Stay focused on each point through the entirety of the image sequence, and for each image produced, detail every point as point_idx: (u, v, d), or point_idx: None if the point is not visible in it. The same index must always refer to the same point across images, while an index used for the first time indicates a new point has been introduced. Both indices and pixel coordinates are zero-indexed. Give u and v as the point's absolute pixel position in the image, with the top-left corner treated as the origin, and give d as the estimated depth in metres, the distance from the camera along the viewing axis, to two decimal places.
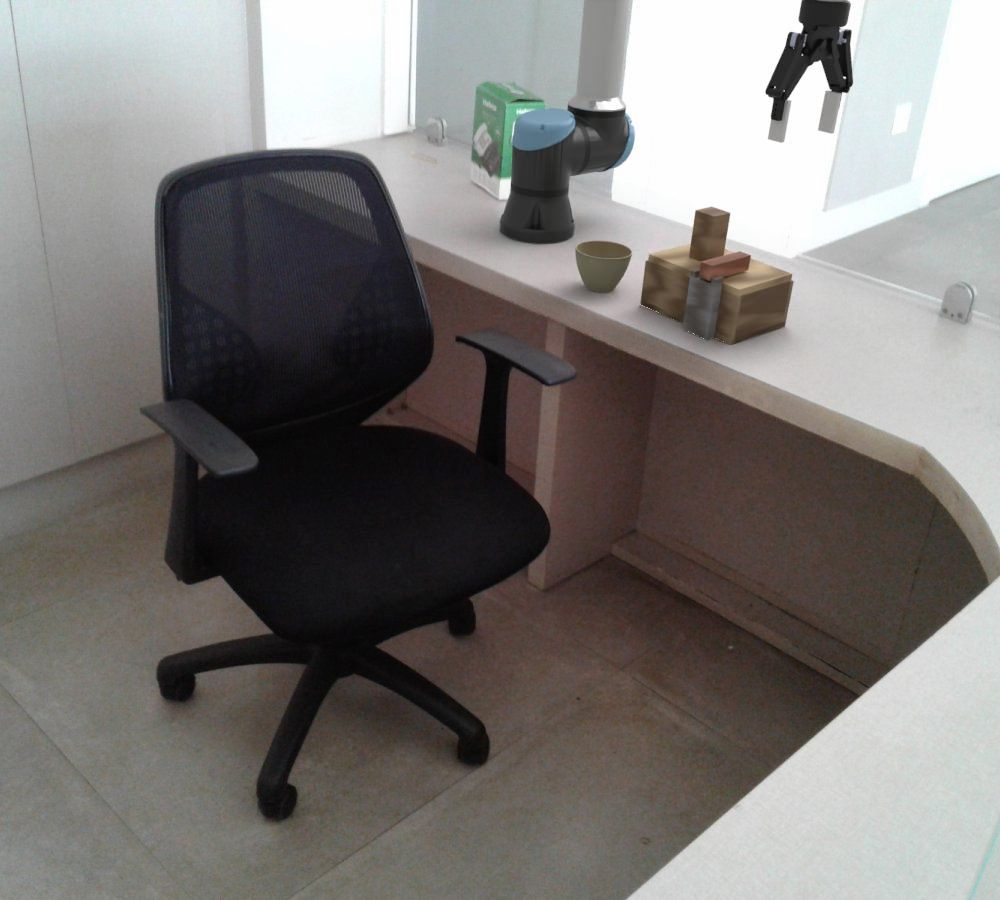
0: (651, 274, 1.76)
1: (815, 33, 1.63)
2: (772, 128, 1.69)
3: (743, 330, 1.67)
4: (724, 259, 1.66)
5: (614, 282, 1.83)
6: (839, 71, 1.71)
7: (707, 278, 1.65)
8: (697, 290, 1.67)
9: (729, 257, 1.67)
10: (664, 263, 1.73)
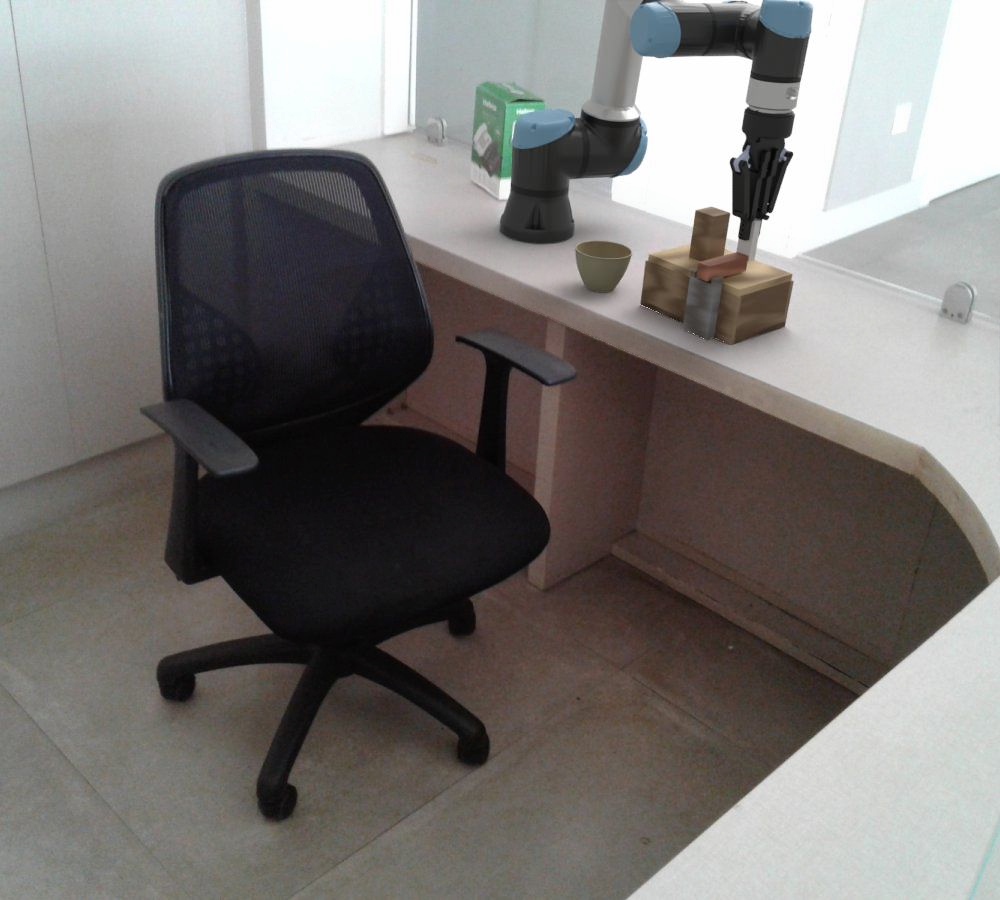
0: (651, 274, 1.76)
1: (756, 146, 1.58)
2: (740, 246, 1.69)
3: (743, 330, 1.67)
4: (721, 260, 1.66)
5: (614, 282, 1.83)
6: (768, 192, 1.65)
7: (704, 279, 1.64)
8: (697, 290, 1.67)
9: (727, 257, 1.67)
10: (664, 263, 1.73)
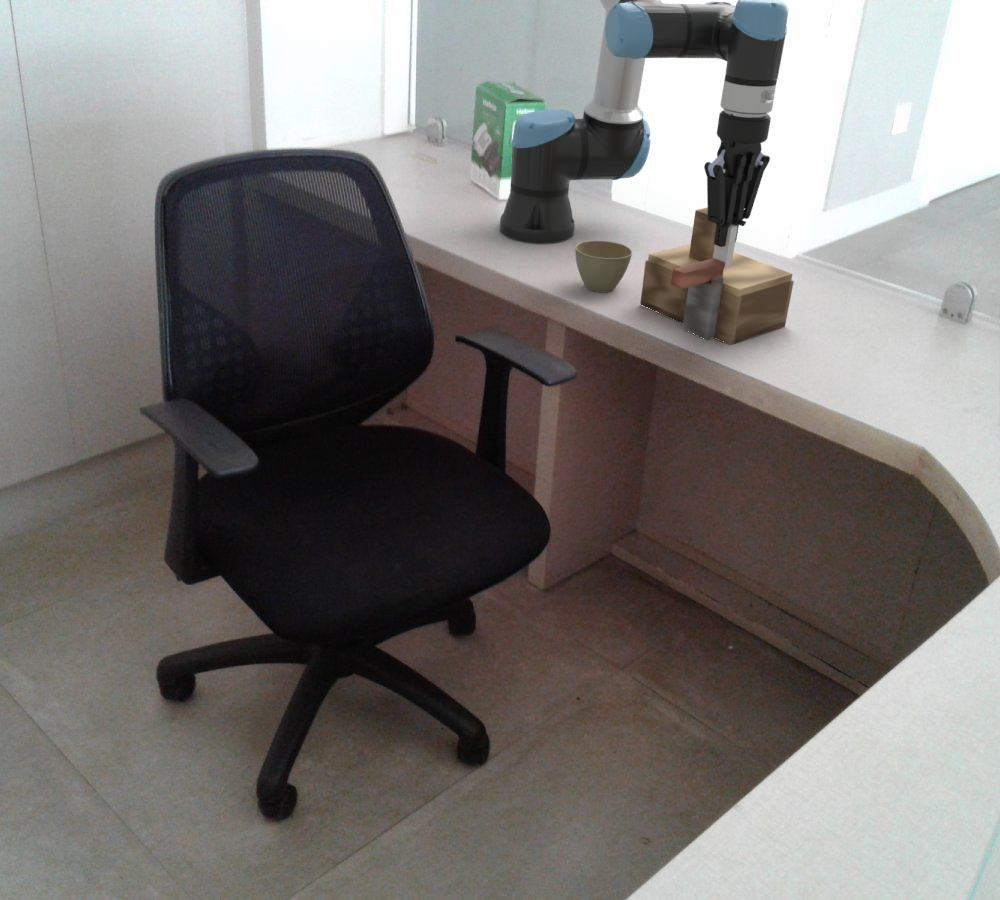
0: (651, 274, 1.76)
1: (731, 150, 1.55)
2: (716, 252, 1.66)
3: (743, 330, 1.67)
4: (697, 266, 1.63)
5: (614, 282, 1.83)
6: (744, 197, 1.61)
7: (679, 286, 1.61)
8: (697, 290, 1.67)
9: (703, 264, 1.64)
10: (664, 263, 1.73)
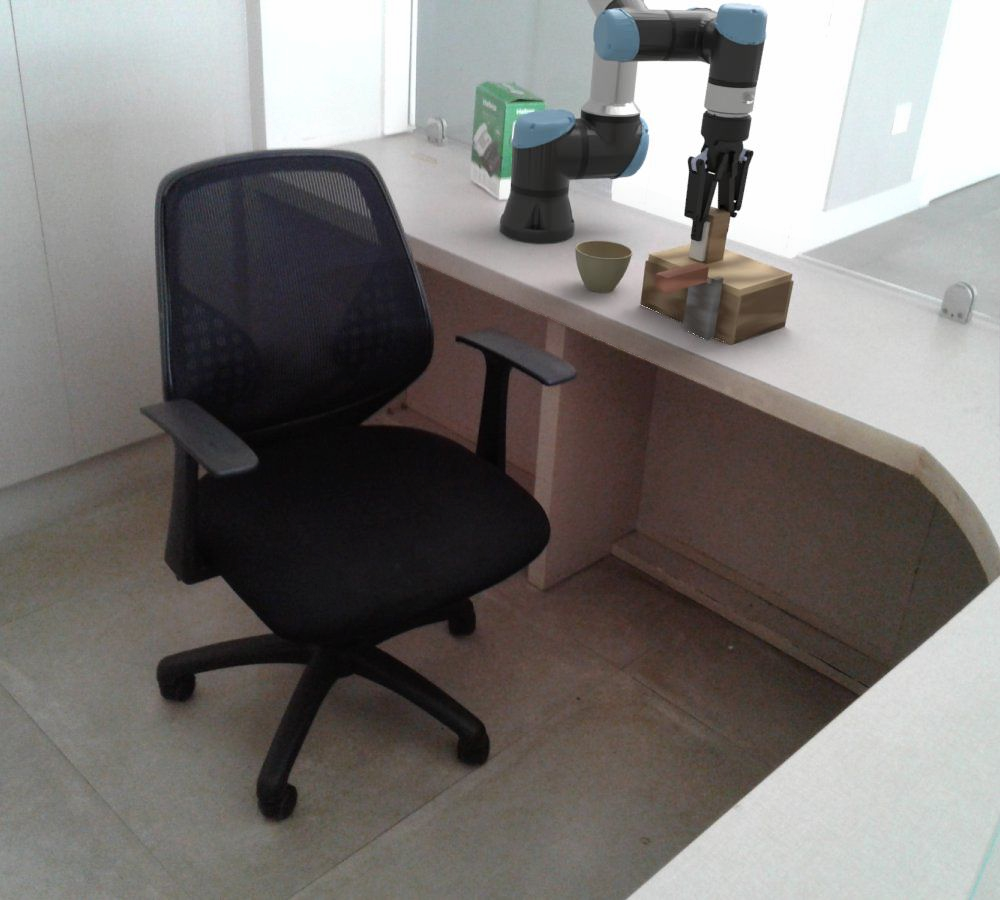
0: (651, 274, 1.76)
1: (714, 148, 1.63)
2: (693, 246, 1.73)
3: (743, 330, 1.67)
4: (681, 271, 1.60)
5: (614, 282, 1.83)
6: (732, 191, 1.70)
7: (663, 290, 1.59)
8: (697, 290, 1.67)
9: (687, 268, 1.62)
10: (664, 263, 1.73)
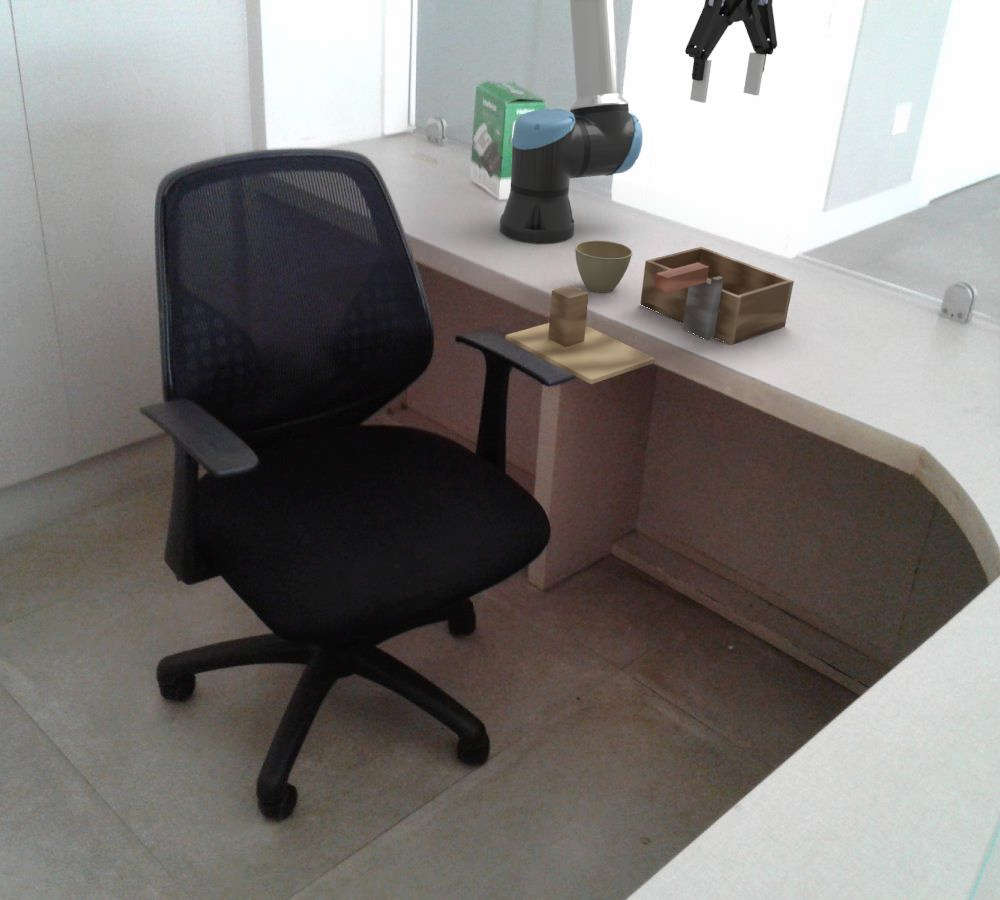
0: (651, 274, 1.76)
1: None
2: (694, 88, 1.70)
3: (743, 330, 1.67)
4: (681, 271, 1.60)
5: (613, 282, 1.83)
6: (761, 32, 1.72)
7: (663, 290, 1.59)
8: (697, 290, 1.67)
9: (687, 268, 1.62)
10: (520, 346, 1.62)
